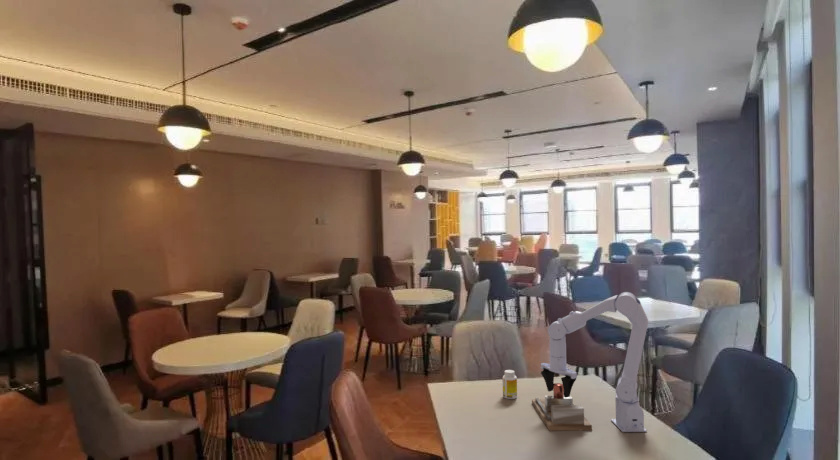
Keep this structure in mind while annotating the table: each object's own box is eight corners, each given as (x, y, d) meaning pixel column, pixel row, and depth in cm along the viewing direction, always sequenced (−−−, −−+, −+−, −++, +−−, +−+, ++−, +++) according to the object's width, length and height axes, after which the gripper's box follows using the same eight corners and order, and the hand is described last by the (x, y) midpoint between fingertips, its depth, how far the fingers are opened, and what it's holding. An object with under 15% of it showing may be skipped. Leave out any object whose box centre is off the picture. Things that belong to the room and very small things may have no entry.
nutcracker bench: (591, 429, 154) (591, 410, 154) (549, 430, 154) (548, 410, 154) (568, 402, 178) (568, 385, 178) (531, 403, 178) (531, 386, 178)
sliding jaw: (573, 411, 165) (572, 386, 165) (547, 411, 165) (547, 386, 165) (569, 407, 169) (569, 382, 169) (544, 407, 169) (544, 383, 169)
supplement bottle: (520, 397, 185) (519, 371, 185) (510, 400, 181) (510, 374, 181) (509, 393, 189) (508, 368, 189) (499, 396, 185) (499, 371, 185)
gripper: (582, 358, 163) (582, 397, 163) (549, 349, 175) (550, 385, 175) (568, 361, 159) (569, 401, 159) (536, 352, 171) (537, 389, 171)
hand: (558, 393), depth 167 cm, fingers open, 7 cm apart
